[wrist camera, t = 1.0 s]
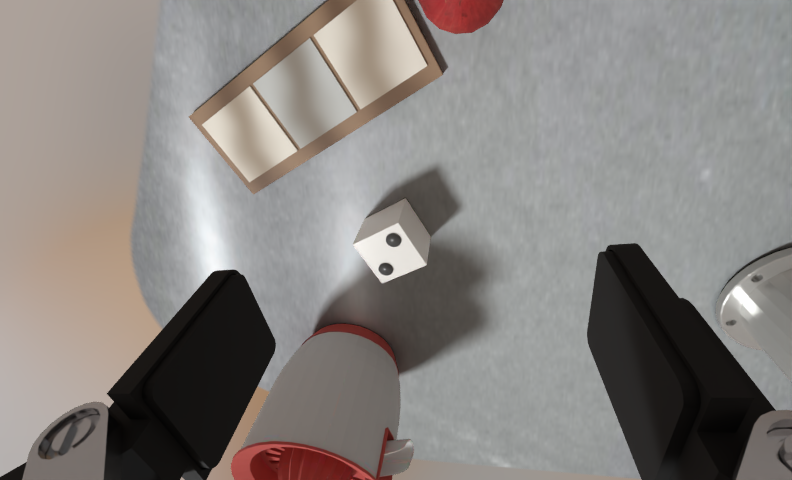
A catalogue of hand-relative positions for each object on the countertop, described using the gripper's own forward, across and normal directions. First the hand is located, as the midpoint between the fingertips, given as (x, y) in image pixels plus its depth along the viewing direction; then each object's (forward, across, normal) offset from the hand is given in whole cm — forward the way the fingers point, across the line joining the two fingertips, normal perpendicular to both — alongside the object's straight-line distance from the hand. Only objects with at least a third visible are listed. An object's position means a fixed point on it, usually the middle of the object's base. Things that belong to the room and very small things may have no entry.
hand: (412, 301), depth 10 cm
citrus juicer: (+25, +14, +31) cm, 42 cm away
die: (+25, +6, +12) cm, 29 cm away
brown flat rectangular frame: (+26, +11, -2) cm, 28 cm away
